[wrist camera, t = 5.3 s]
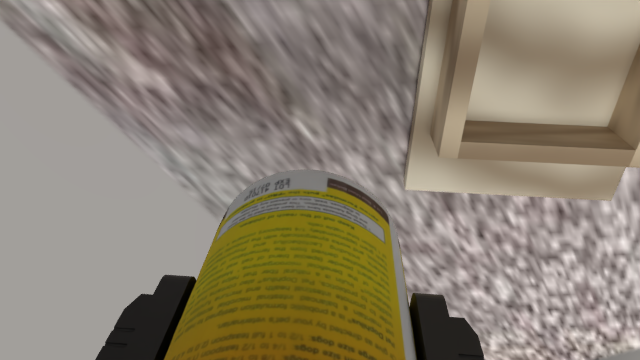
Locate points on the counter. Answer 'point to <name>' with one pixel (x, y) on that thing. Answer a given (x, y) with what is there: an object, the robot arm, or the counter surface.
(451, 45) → the cup caddy
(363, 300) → the supplement bottle
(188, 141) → the counter surface
